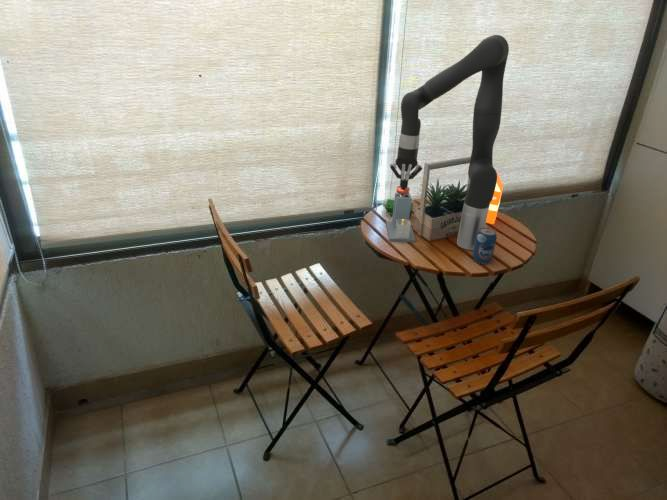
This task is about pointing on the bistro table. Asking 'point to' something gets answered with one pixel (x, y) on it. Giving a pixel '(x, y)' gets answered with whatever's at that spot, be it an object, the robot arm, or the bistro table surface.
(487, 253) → the soda can
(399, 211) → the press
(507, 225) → the bistro table surface
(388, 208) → the clamp
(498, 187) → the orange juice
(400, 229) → the block
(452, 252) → the bistro table surface
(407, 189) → the disc
